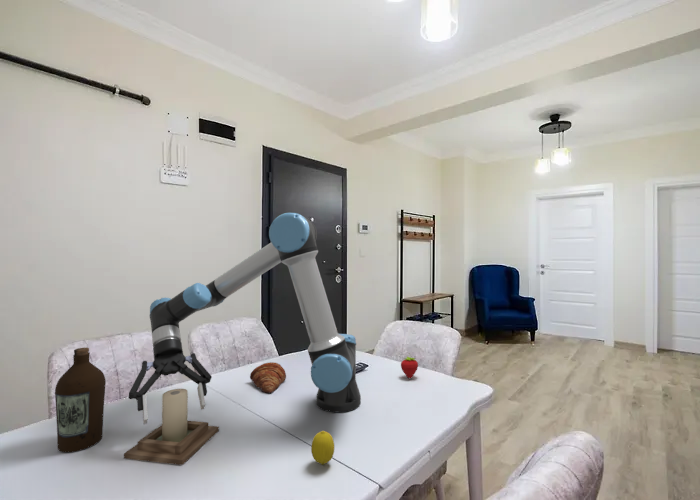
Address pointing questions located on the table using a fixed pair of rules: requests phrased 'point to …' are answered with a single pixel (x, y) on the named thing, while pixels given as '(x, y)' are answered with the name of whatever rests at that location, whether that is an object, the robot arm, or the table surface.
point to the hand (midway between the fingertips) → (175, 414)
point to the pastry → (268, 376)
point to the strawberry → (409, 366)
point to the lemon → (322, 447)
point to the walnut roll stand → (172, 445)
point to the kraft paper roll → (174, 415)
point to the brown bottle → (80, 404)
